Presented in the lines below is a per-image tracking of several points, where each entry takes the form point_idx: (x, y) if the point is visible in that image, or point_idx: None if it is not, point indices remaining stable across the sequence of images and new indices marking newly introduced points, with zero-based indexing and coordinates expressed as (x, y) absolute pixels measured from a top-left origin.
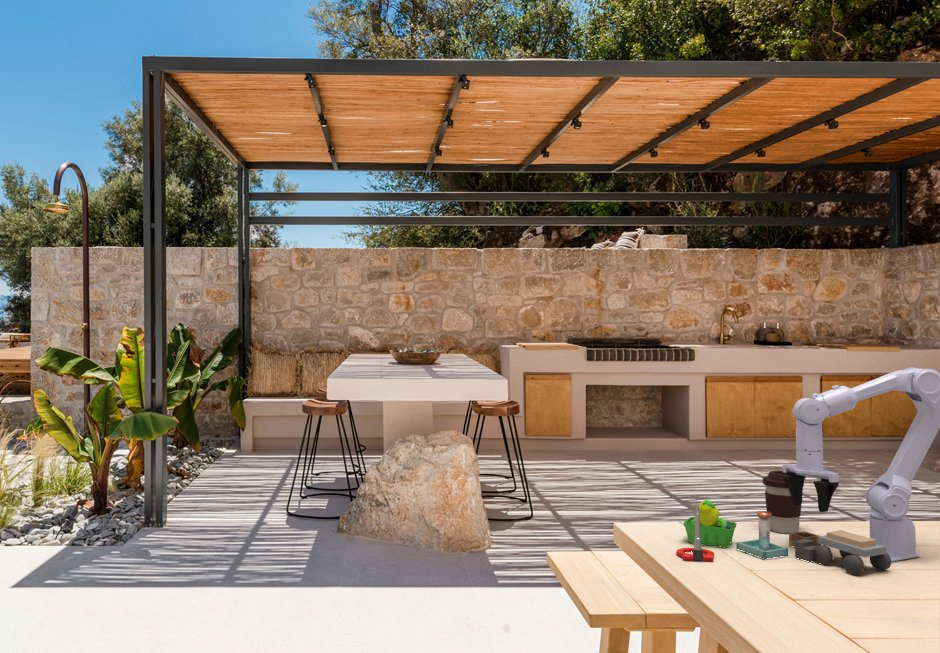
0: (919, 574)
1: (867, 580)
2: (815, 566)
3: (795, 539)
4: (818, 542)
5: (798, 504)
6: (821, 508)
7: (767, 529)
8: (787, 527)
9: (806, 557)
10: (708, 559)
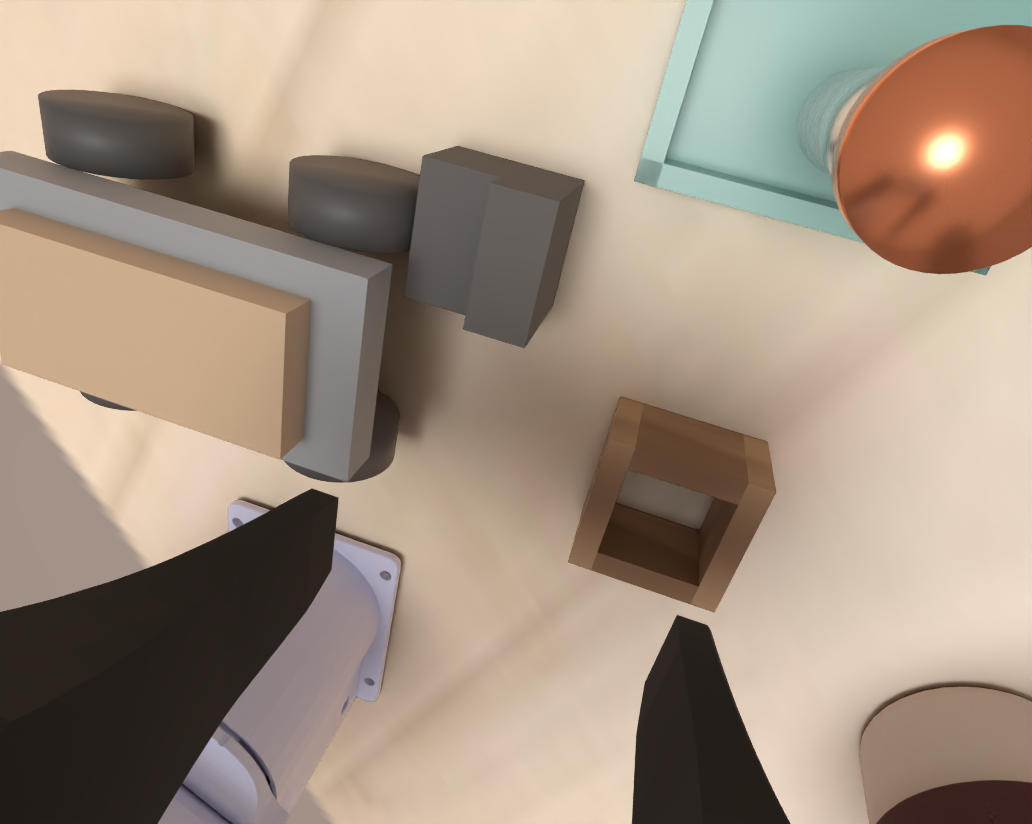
0: (69, 398)
1: (62, 73)
2: (382, 90)
3: (709, 454)
4: (384, 264)
5: (660, 657)
6: (281, 506)
7: (838, 112)
8: (915, 726)
9: (473, 157)
10: None
